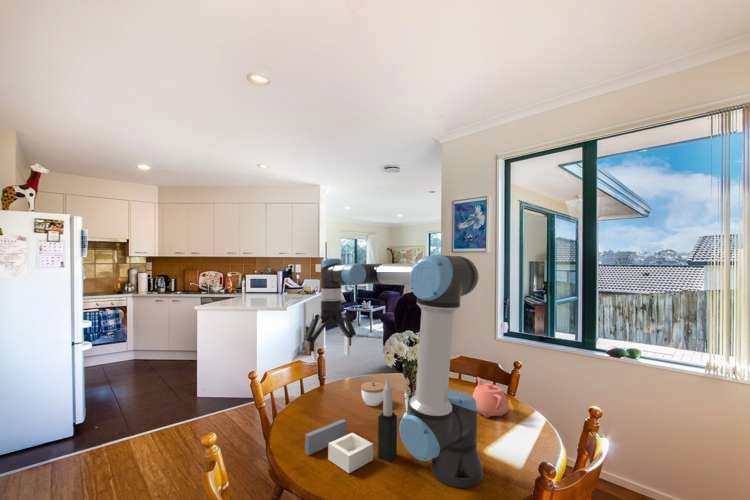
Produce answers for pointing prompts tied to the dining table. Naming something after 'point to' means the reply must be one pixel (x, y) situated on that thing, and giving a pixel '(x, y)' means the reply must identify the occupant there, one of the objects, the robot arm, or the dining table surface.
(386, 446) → the candle
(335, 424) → the backstop wall
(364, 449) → the socket block
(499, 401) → the teapot
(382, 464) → the dining table surface
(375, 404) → the lidded jar
